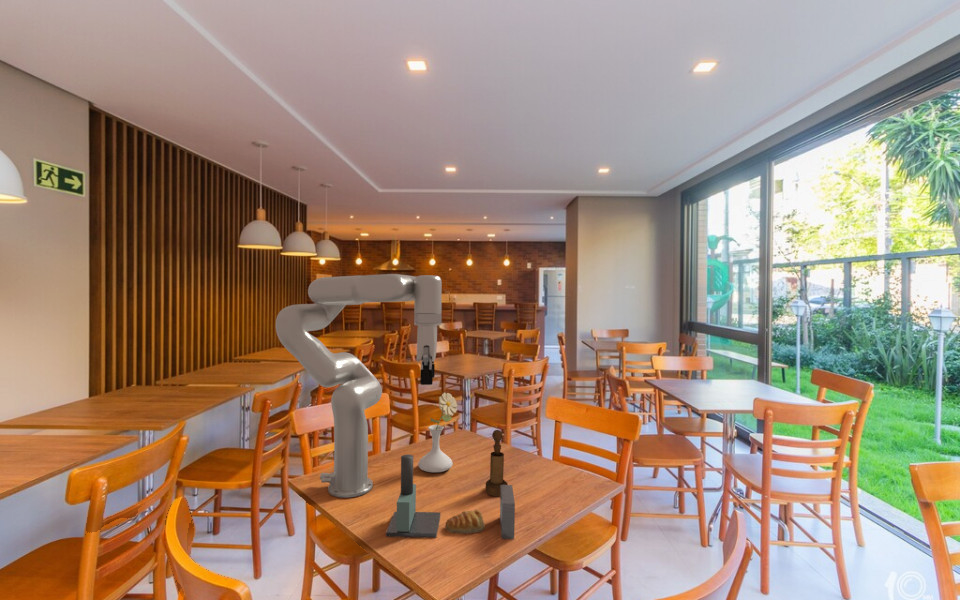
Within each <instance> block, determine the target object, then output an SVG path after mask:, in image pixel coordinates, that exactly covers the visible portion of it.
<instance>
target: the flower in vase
mask: <svg viewBox="0 0 960 600" xmlns="http://www.w3.org/2000/svg"><path fill="white" fill-rule="evenodd" d="M457 403H458V402H457V400H456V398H455V397H453V395H452V394H451V393H449V392H447V393H446V392H443V393H442V394H441V396H439V399H438V404H439V409H440V411H441V416H440V418H439V420H438V419H437V420H436V419H433V417H432V418H431V417H430V422H432V423H436V424H433V425H430V426H428V428H427V429H429V432H430V434H431V437H432V438H431V443H432V445H431V446H432V447H431V450H430V451H428V452H427V453H426V454H425V455H424V456H422V457H421V458H420V459H419V461H418V463H417V466H418V468H419V469H420V470H422V471H424V472H427V473H433V474H434V473H442V472H445V471H448V470H450V469H451V467H452V466H453V465H454V463H453V460H452V459H451V457H449V456H448V455H447V454H446V453H445V452H443V451H442V450H441V448H440V437H441V433H442V431H443V429H444V426H443V425H439V424H440V422H441V420H443V421H444V422H445V423H448V422H450V421H451V420H453V416H454V414H456V413H457V411H458V404H457Z"/></svg>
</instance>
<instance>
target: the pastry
mask: <svg viewBox="0 0 960 600" xmlns="http://www.w3.org/2000/svg"><path fill="white" fill-rule="evenodd" d="M484 521H485V520H484V519H483V515H482V512H481V511H480V510H478V509H475V510H468V511H466V510H465V511H462V512H461V513H459V514H456V515H453V516H452V517H450V518H448V519H447V520H446V521H445V526H444V527H445V530H447V531H448V532H449V533H451V534H463V535H465V534H473V533H474V534H475V533H480V532H483V531H484V529H485V522H484Z"/></svg>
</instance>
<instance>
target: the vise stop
mask: <svg viewBox="0 0 960 600" xmlns="http://www.w3.org/2000/svg"><path fill="white" fill-rule="evenodd" d="M499 498H500V501H499V506H500V507H499V521H500V534H501V535H500V537H501V540H515V524H516V523H515V520H516V519H515V517H516V516H515V515H516V513H515V512H516V510H515V509H516V505H515V504H516V502H515V495H514V489H513V485H512V484H508V485H501V488H500V496H499Z"/></svg>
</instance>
